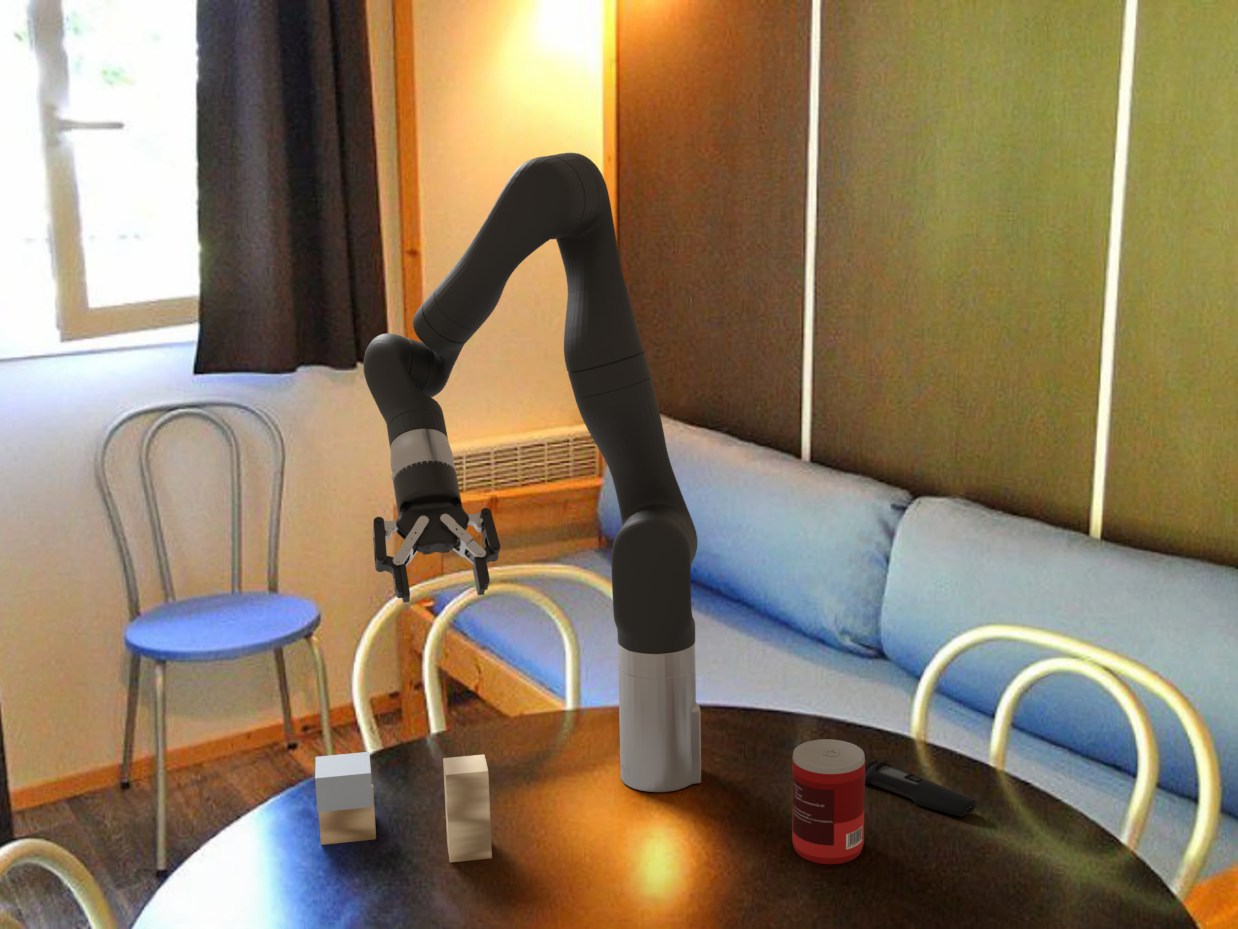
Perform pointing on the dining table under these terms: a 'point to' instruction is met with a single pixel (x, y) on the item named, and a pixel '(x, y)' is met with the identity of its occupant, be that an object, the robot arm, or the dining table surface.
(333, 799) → the tower mid
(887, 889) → the dining table surface
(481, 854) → the maple block
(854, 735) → the dining table surface
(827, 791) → the canned food
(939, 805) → the electric trimmer
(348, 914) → the dining table surface
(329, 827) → the tower base
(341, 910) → the dining table surface
